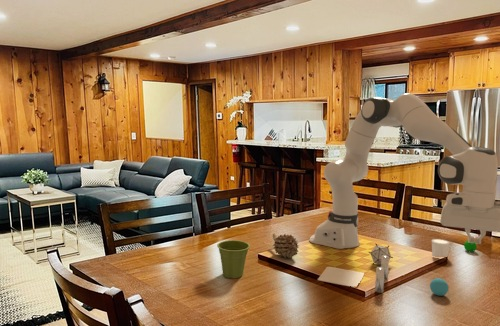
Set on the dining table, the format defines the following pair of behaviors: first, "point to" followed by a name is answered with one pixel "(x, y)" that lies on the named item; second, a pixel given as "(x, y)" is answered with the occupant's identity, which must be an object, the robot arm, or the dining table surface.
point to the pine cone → (285, 245)
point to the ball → (439, 286)
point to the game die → (379, 253)
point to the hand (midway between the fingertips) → (474, 242)
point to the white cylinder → (440, 248)
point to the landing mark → (341, 276)
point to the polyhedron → (470, 246)
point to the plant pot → (233, 257)
